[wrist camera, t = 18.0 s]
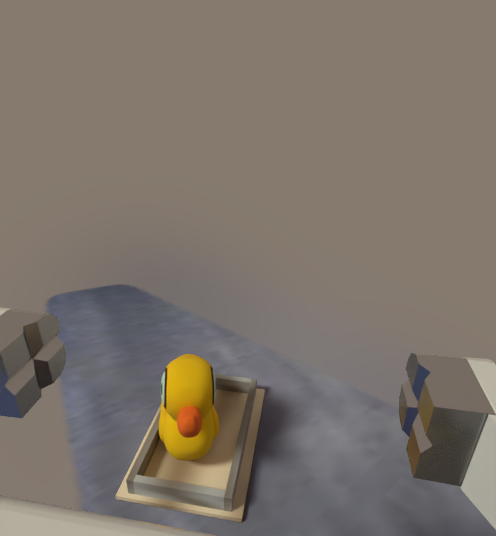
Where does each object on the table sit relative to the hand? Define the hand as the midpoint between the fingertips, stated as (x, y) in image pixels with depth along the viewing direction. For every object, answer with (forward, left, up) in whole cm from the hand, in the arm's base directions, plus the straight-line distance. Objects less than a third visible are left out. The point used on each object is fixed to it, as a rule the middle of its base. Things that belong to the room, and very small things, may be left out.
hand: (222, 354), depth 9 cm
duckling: (+7, -18, -25) cm, 31 cm away
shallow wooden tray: (+6, -19, -25) cm, 32 cm away
